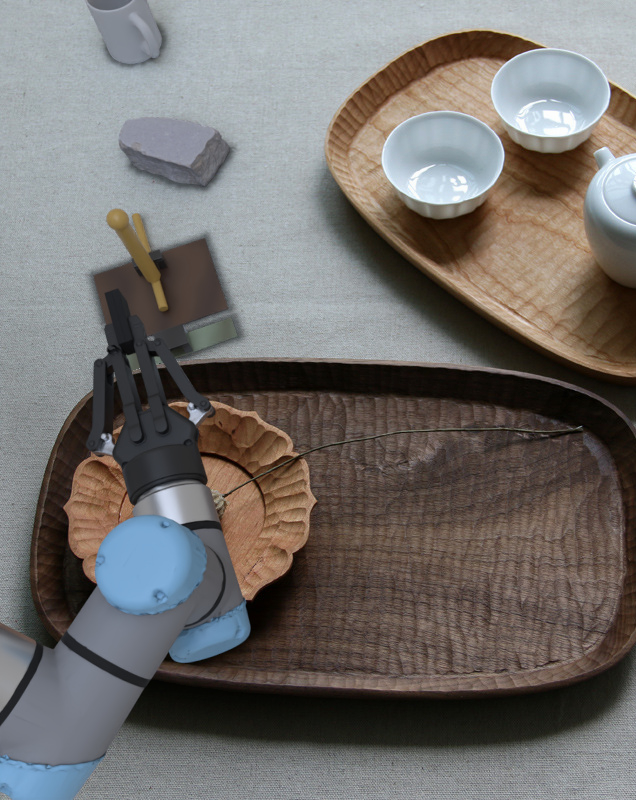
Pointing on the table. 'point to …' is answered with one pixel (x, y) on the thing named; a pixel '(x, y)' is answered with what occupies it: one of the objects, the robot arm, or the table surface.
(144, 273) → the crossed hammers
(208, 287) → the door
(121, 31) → the mug
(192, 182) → the decorative stone
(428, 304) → the table surface
